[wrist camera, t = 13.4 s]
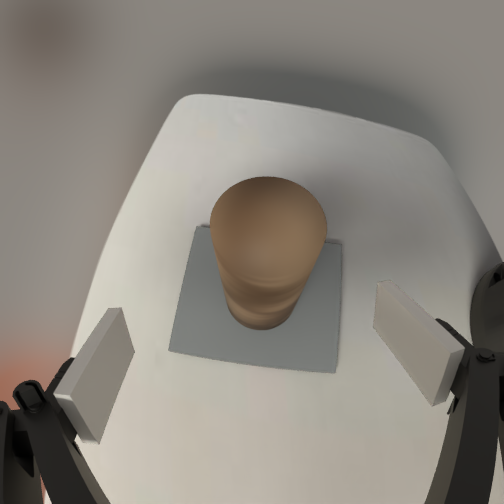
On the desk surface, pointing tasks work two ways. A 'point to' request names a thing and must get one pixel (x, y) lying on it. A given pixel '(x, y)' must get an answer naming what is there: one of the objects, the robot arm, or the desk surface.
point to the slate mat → (258, 341)
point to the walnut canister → (266, 247)
